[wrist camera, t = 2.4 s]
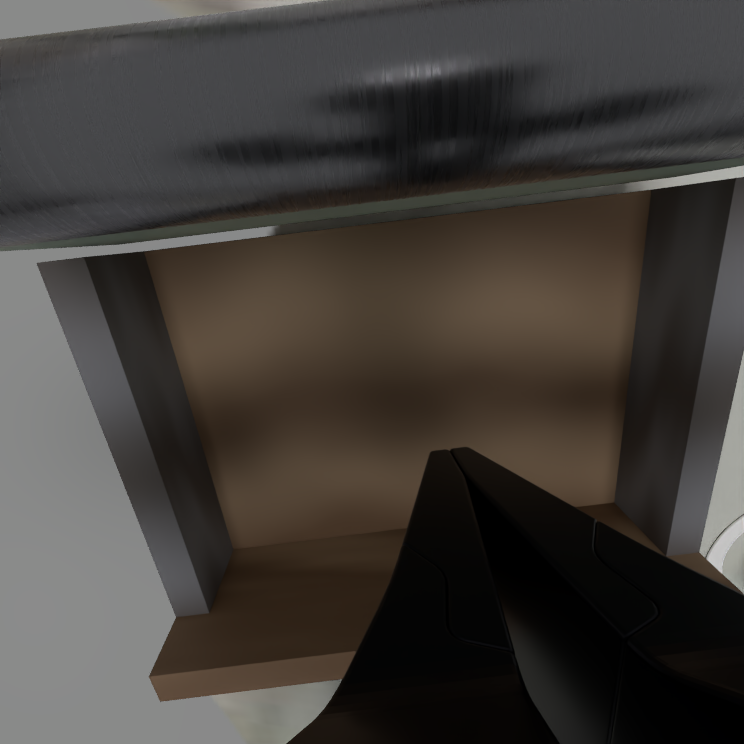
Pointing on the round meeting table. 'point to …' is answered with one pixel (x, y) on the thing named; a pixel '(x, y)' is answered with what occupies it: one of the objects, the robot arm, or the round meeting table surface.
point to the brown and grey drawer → (400, 400)
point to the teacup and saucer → (725, 543)
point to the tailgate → (356, 112)
